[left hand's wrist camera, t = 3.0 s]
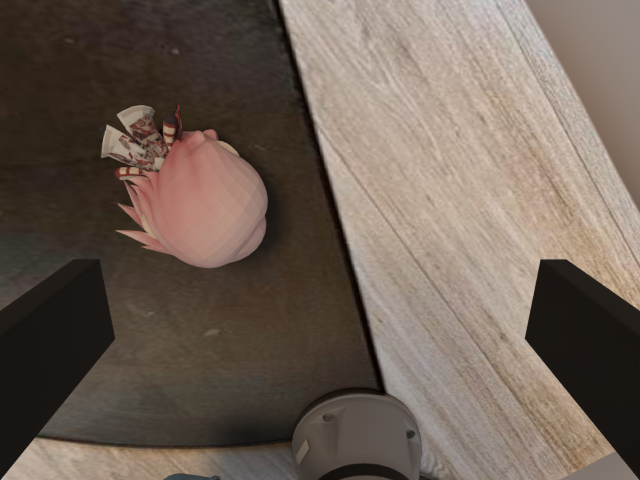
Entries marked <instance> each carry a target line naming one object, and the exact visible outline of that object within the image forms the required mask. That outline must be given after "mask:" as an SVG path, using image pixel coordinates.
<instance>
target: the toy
mask: <svg viewBox="0 0 640 480" xmlns="http://www.w3.org/2000/svg"><path fill="white" fill-rule="evenodd" d="M174 109H176V110H175V111H172V113H173V114H167V115H166V116H165V117H164V122H163V129H161V130H160V131H158V129H157V127H156V125H155V123H154V120H153V119H152V117H153V115H154V112H155V111H154V110H153V109H152V108H151V107H148V106H144V105H142V106H133V107H131V108H129V109H126V110H124V111H122V112H121V113H119V114H117V116H118V117H119V119H120V120H121V122H122V123H123V125H124V126H125V127H126V129H127V130H128V131H127V132H126V133H125V134H123V133H121V132H120V131H118V130H116V129H114V128H112V127H111V126H109V125H106V124H104V125H103V126H101V128H100V132H101V133H102V134H103V135H104V139H103V145H102V152H101V157H102V158H103V157H107V156H110V157H112V158H114V159H116V160H119V161H121V162H123V163H126V164H129V165H132V166H135V167H124V168H117V169H115V171H114V172H113V175H114V177H115V178H116V179H117V180H124V182H125V185H126V187H127V190H128V192H129V195H130V197H131V200H132V202H133V205H134V207H135V208H133V207H129V206H126V205H122V204H119V203H117V204H118V205H119V206H121V207H122V208H123V209H124V210H125V211H126V212H127V213H128V214H129V215H130V216H131V217H132V218H133V219H134V220H135V221H136V222H137V223H138V224H139V225H140V226H141V227H142V228H143V229H145V230H146V232H147V233H145V232H142V231H130V230H115V231H118V232H120V233H123V234H125V235H128V236H130V237H132V238H134V239H136V240H138V241H140V242H142V243H144V244H147V246H142V247H144V248H147V249H151V250H155V251H159V252H163V253H167V254H171V255H174V256H176V257H177V258H179V259H180V260H182V261H184V262H186V263H188V264H191V265H194V266H197V267H204V268H216V267H220V266H222V265H225V264H227V263H231V262H234V261H238V260H240V259H242V258H244V257H246V256H248V255H250V254H251V253H252V252H253V251H254V250H256V249H257V247H258V246H259V244H260V243H261V242H262V239H263V237H264V235H265V230H266V219H265V213H266V210H267V203H268V197H267V192H266V189H265V186H264V184H263V181H262V179H261V178H260V176H259V174H258V173H257V172H256V170H255V169H254V168H253V167H252V166H251V165H250V164H249V163H248V162H246V161H245V160H244V159H242V158H240V157H239V154H238V152H237V151H236V150H235V149H234V148H232V147H231V146H230V145H229V144H227V143H225V142H222V141H219V140H218V136H217V133H216V132H215V131H214V130H212V129H211V130H205V131H204V132H201V131H194V132H187V131H184V132H182V125H181V117H180V108H179V105H178V106H177V107H175V108H174ZM160 133H161V134H160ZM126 179H127V180H130V181H132V182H134V183H135V184H136V185H138V187H139V188H138V187H137V186H133V185H131V186H132V187H133V188H132V187H131V186H130V185H129V184H128V183H127V182H126V181H125V180H126ZM134 190H135V191H136V192H135V191H134Z"/></svg>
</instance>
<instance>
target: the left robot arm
mask: <svg viewBox="0 0 640 480" xmlns="http://www.w3.org/2000/svg"><path fill="white" fill-rule="evenodd" d="M114 340H115V335H114V330H113V325H112V320H111V315H110V310H109V305H108V300H107V295H106V290H105V285H104V280H103V275H102V270H101V265H100V260H99V259H74V260H72V261H71V262H69V263H68V264H66V265H65V266H64V267H62V268H61V269H59V270H58V271H56V272H55V273H54V274H52V275H51V276H49V277H48V278H46V279H45V280H44V281H42V282H41V283H39V284H38V285H36V286H35V287H34V288H32V289H31V290H29V291H28V292H26V293H25V294H24V295H22V296H21V297H19V298H18V299H16V300H15V301H14V302H12V303H11V304H9V305H8V306H7V307H5V308H4V309H2V310H1V311H0V480H1V479H2V477H3V476H4V475H5V474H6V473H7V471H8V470H9V469H10V468H11V466H12V465H13V464H14V463H15V461H16V460H17V459H18V458H19V457H20V455H21V454H22V453H23V452H24V450H25V449H26V448H27V447H28V445H29V444H30V443H31V442H32V441H33V439H34V438H35V437H36V436H37V434H38V433H39V432H40V431H41V429H42V428H43V427H44V426H45V425H46V423H47V422H48V421H49V420H50V418H51V417H52V416H53V415H54V413H55V412H56V411H57V410H58V409H59V407H60V406H61V405H62V404H63V402H64V401H65V400H66V399H67V397H68V396H69V395H70V394H71V393H72V391H73V390H74V389H75V388H76V386H77V385H78V384H79V383H80V381H81V380H82V379H83V378H84V377H85V375H86V374H87V373H88V372H89V370H90V369H91V368H92V367H93V365H94V364H95V363H96V362H97V361H98V359H99V358H100V357H101V356H102V354H103V353H104V352H105V351H106V349H107V348H108V347H109V346H110V345H111V343H112V342H113V341H114ZM525 340H526V341H527V342H528V343H529V345H530V346H531V347H532V348H533V349H534V351H535V352H536V353H537V354H538V356H539V357H540V358H541V359H542V361H543V362H544V363H545V364H546V365H547V367H548V368H549V369H550V370H551V372H552V373H553V374H554V375H555V377H556V378H557V379H558V380H559V381H560V383H561V384H562V385H563V386H564V388H565V389H566V390H567V391H568V393H569V394H570V395H571V396H572V397H573V399H574V400H575V401H576V402H577V404H578V405H579V406H580V407H581V409H582V410H583V411H584V412H585V413H586V415H587V416H588V417H589V418H590V420H591V421H592V422H593V423H594V425H595V426H596V427H597V428H598V429H599V431H600V432H601V433H602V434H603V436H604V437H605V438H606V439H607V441H608V442H609V443H610V444H611V445H612V447H613V448H614V449H615V450H616V452H617V453H618V454H619V455H620V457H621V458H622V459H623V460H624V461H625V463H626V464H627V465H628V466H629V468H630V469H631V470H632V471H633V473H634V474H635V475H636V476H637V477H638V479H639V480H640V311H639V310H638V309H636V308H635V307H633V306H632V305H631V304H629V303H628V302H626V301H625V300H624V299H622V298H621V297H619V296H618V295H616V294H615V293H614V292H612V291H611V290H609V289H608V288H606V287H605V286H604V285H602V284H601V283H599V282H598V281H596V280H595V279H594V278H592V277H591V276H589V275H588V274H586V273H585V272H584V271H582V270H581V269H579V268H578V267H576V266H575V265H574V264H572V263H571V262H569V261H568V260H566V259H541V260H540V265H539V270H538V275H537V280H536V285H535V290H534V295H533V300H532V305H531V310H530V315H529V320H528V325H527V330H526V335H525ZM292 454H293V461H294V465H295V468H296V471H297V475H298V478H299V480H431V479H428V478H426V477H423V476H421V475H419V474H420V464H421V455H422V446H421V437H420V433H419V429H418V426H417V423H416V420H415V418H414V416H413V415H412V413H411V412H410V411H409V409H408V408H407V407H406V406H405V405H404V404H402V403H401V402H400V401H399V400H397V399H395V398H394V397H392V396H390V395H388V394H385V393H382V392H379V391H375V390H370V389H345V390H340V391H336V392H333V393H330V394H327V395H325V396H323V397H321V398H319V399H317V400H316V401H314V402H313V403H312V404H310V405H309V406H308V407H307V408H306V409H305V410H304V411H303V412H302V414H301V415H300V417H299V418H298V420H297V422H296V424H295V427H294V431H293V439H292ZM164 480H220V477H218V476H213V477H211V478H209V477H202V476H195V475H189V474H173V475H170V476H168V477H166V478H165V479H164Z"/></svg>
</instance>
